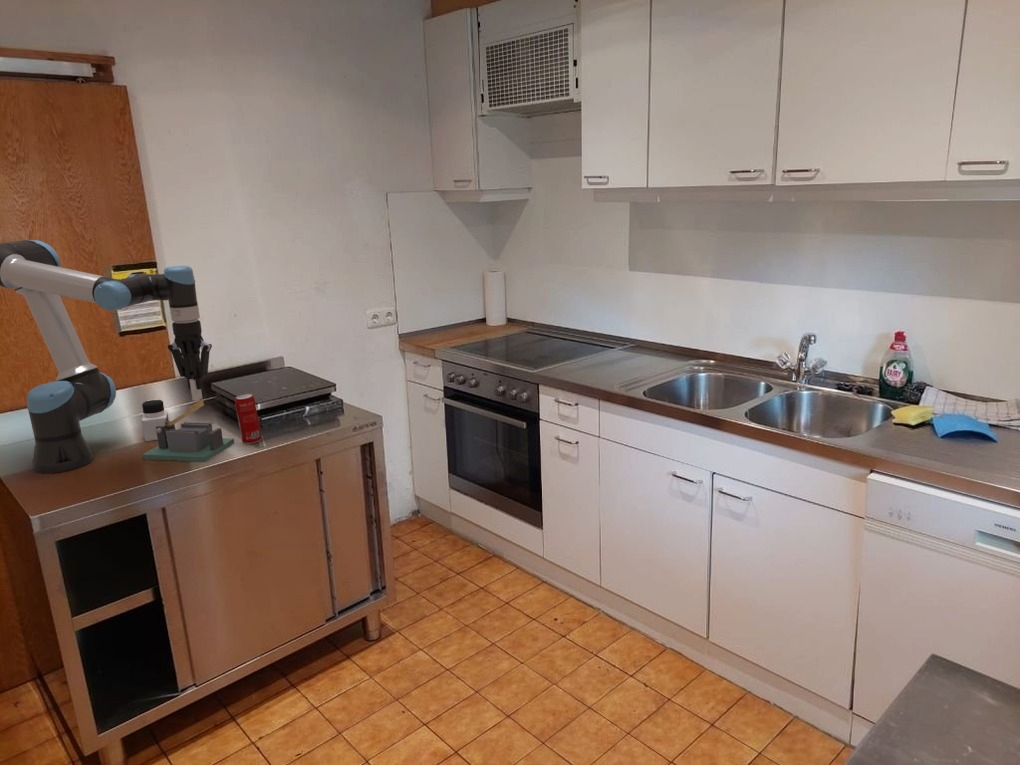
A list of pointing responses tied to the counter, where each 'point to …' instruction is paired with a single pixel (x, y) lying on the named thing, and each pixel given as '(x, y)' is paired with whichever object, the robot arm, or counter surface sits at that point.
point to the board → (186, 455)
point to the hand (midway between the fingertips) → (197, 399)
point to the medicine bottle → (153, 418)
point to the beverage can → (247, 418)
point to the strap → (186, 413)
